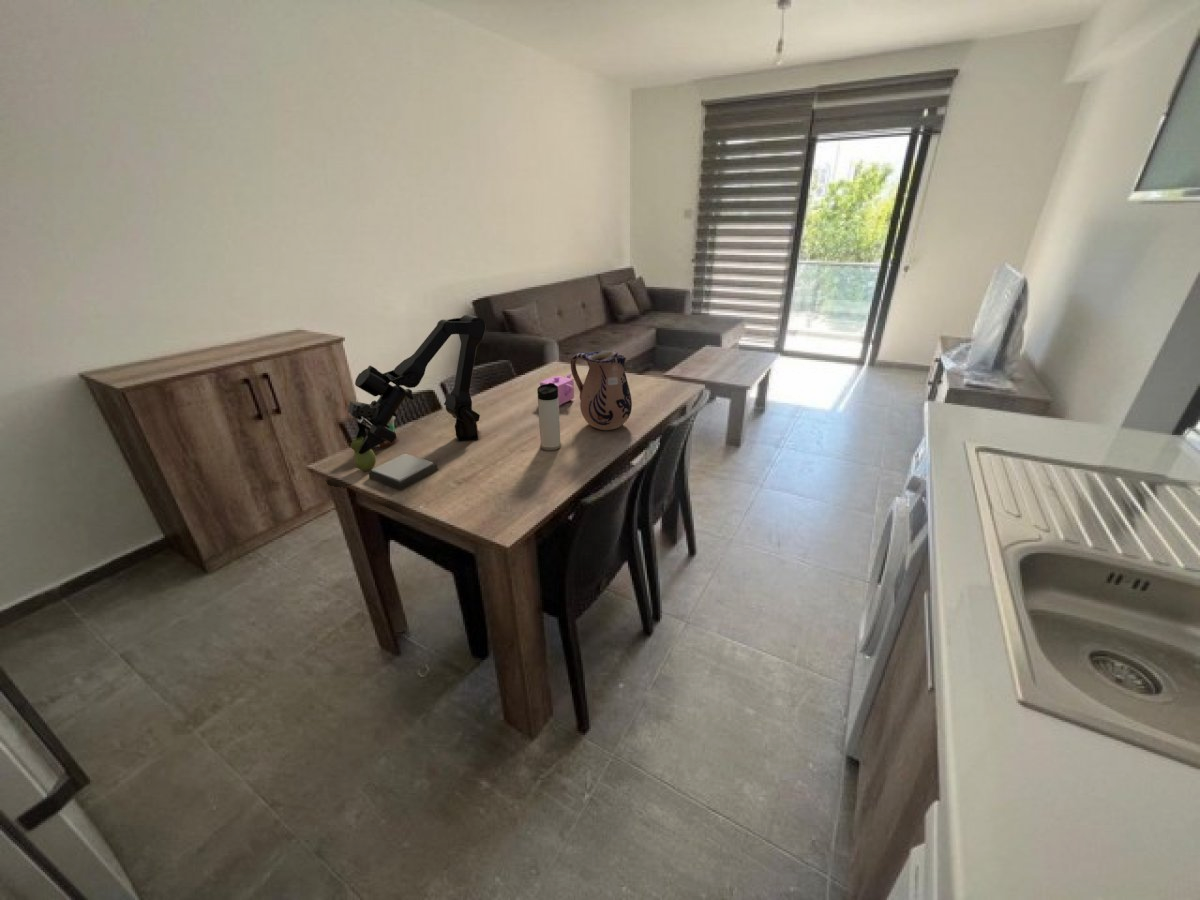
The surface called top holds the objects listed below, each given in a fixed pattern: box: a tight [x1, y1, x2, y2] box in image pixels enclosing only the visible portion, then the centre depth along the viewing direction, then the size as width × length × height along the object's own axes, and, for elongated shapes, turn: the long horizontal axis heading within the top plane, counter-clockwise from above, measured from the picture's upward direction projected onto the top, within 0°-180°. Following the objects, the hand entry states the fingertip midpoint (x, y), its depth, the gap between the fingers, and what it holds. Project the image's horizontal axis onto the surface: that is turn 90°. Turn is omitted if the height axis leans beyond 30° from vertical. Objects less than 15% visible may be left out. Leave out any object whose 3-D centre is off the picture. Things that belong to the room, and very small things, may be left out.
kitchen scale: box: [367, 453, 439, 491], centre depth 136 cm, size 13×13×3 cm
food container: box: [372, 416, 397, 450], centre depth 152 cm, size 12×6×10 cm, turn 168°
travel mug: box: [536, 383, 562, 452], centre depth 147 cm, size 6×7×20 cm
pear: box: [350, 436, 377, 472], centre depth 136 cm, size 6×5×10 cm
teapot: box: [539, 373, 575, 407], centre depth 185 cm, size 18×14×10 cm
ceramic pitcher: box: [570, 350, 633, 431], centre depth 161 cm, size 18×21×25 cm
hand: (356, 450), depth 135 cm, fingers closed on pear, 4 cm apart
